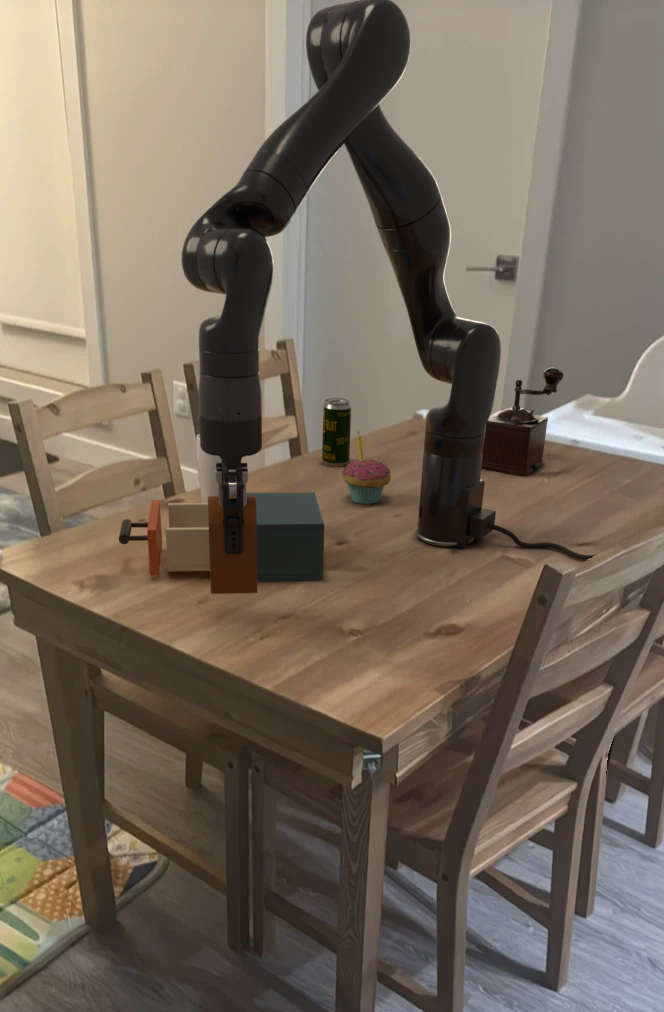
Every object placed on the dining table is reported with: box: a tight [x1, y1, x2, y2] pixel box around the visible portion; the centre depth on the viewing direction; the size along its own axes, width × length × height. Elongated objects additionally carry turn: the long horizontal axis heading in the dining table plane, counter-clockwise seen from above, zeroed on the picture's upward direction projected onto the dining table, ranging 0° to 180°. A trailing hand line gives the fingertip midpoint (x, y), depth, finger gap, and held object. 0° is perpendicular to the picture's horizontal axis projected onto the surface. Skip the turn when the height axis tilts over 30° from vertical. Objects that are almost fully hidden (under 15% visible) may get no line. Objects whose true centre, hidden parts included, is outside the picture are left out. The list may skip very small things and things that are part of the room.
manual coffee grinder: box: [481, 366, 564, 477], centre depth 194 cm, size 16×11×18 cm
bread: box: [208, 496, 258, 595], centre depth 127 cm, size 6×5×12 cm
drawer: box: [118, 499, 210, 576], centre depth 145 cm, size 18×13×7 cm
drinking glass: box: [195, 433, 222, 503], centre depth 157 cm, size 7×7×15 cm
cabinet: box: [246, 491, 325, 582], centre depth 147 cm, size 15×14×9 cm
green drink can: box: [321, 397, 352, 468], centre depth 192 cm, size 5×5×12 cm
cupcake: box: [341, 429, 392, 505], centre depth 173 cm, size 9×8×12 cm
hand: (233, 544), depth 127 cm, fingers closed on bread, 5 cm apart
